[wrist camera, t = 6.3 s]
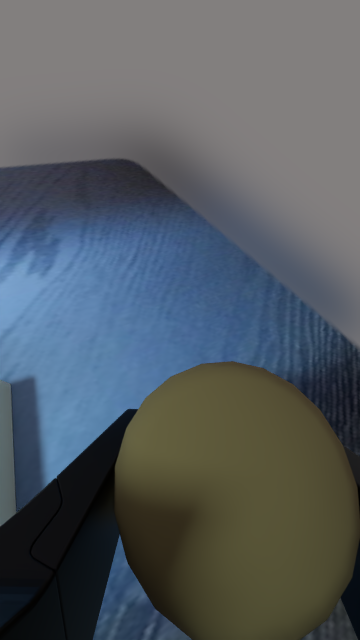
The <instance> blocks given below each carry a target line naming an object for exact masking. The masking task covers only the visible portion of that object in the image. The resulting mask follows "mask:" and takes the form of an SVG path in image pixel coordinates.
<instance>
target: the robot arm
mask: <svg viewBox="0 0 360 640" xmlns="http://www.w3.org/2000/svg"><path fill="white" fill-rule="evenodd" d="M137 411H138V409H127V410H126V411H125V412H124V413H123V414H122V415H121V416H120V417H119V418H118V419H117V420H116V421H115V422H114V423H112V424H111V425H110V426H109V427H108V428H107V429H106V430H105V431H104V432H103V433H102V434H101V435H100V436H99V437H98V438H97V439H96V440H95V441H94V442H93V443H91V444H90V445H89V446H88V447H87V448H86V449H85V450H84V451H83V452H82V453H81V454H80V455H79V456H78V457H77V458H76V459H75V460H74V461H73V462H71V463H70V464H69V465H68V466H67V467H66V468H65V469H64V470H63V471H62V472H61V473H60V474H59V475H58V476H57V479H56V478H55V479H53V480H52V481H51V482H50V483H49V484H48V485H47V486H46V487H45V488H44V489H43V490H42V491H41V492H40V493H38V494H37V495H36V496H35V497H34V498H33V499H32V500H31V501H30V502H29V503H27V504H26V505H25V506H24V507H23V508H22V509H20V510H19V511H18V512H17V513H16V514H14V515H13V516H12V517H11V518H10V519H8V520H7V521H6V522H5V523H4V524H2V525H1V526H0V640H93V636H94V632H95V628H96V624H97V620H98V616H99V613H100V609H101V605H102V601H103V597H104V593H105V589H106V585H107V581H108V577H109V573H110V570H111V566H112V562H113V558H114V554H115V550H116V546H117V542H118V538H119V534H120V532H119V528H118V525H117V521H116V517H115V513H114V485H115V464H116V461H117V458H118V454H119V451H120V448H121V444H122V441H123V437H124V434H125V431H126V428H127V426H128V425H129V423H130V422H131V420H132V418H133V417H134V415H135V414H136V412H137ZM343 447H344V446H343ZM344 450H345V453H346V456H347V459H348V461H349V464H350V467H351V470H352V473H353V476H354V479H355V482H356V485H357V488H358V500H359V512H360V456H358V455H357V454H355V453H353V452H352V451H350V450H349V449H347V448H346V447H344ZM341 600H342V602H343V605H344V607H345V609H346V612H347V614H348V616H349V619H350V621H351V624H352V626H353V628H354V631H355V633H356V636H357V638H358V640H360V540H359V545H358V550H357V556H356V561H355V566H354V571H353V576H352V579H351V580H350V582H349V584H348V585H347V587H346V589H345V590H344V592H343V594H342V596H341Z"/></svg>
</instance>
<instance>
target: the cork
mask: <svg viewBox="0 0 360 640" xmlns="http://www.w3.org/2000/svg"><path fill="white" fill-rule="evenodd" d="M114 513H115V517H116V521H117V525H118V528H119V532H120V536H121V540H122V544H123V548H124V552H125V556H126V559H127V562H128V564H129V566H130V568H131V569H132V571H133V573H134V574H135V576H136V578H137V579H138V581H139V583H140V584H141V586H142V588H143V589H144V591H145V593H146V594H147V596H148V598H149V599H150V601H151V603H152V604H153V606H154V607H155V609H156V610H157V611H159V612H160V613H161V614H162V615H163V616H165V617H166V618H167V619H168V620H169V621H171V622H172V623H173V624H174V625H175V626H177V627H178V628H179V629H180V630H181V631H183V632H184V633H185V634H186V635H187V636H189V637H190V638H191V639H192V640H300V639H302V638H303V637H304V636H306V635H307V634H309V633H310V632H311V631H313V630H314V629H315V628H317V627H318V626H319V625H321V624H322V623H324V622H325V621H326V620H327V619H328V617H329V616H330V614H331V613H332V611H333V609H334V607H335V606H336V604H337V602H338V601H339V599H340V597H341V596H342V594H343V592H344V590H345V589H346V587H347V585H348V584H349V582H350V580H351V579H352V576H353V571H354V566H355V561H356V556H357V550H358V545H359V540H360V512H359V500H358V488H357V485H356V482H355V479H354V476H353V473H352V470H351V467H350V464H349V461H348V459H347V456H346V453H345V450H344V447H343V445H342V443H341V442H340V440H339V439H338V437H337V436H336V434H335V432H334V431H333V429H332V428H331V426H330V425H329V423H328V422H327V420H326V419H325V417H324V415H323V414H322V412H321V411H320V409H319V408H317V407H316V406H315V405H314V404H313V403H312V402H311V401H310V400H309V399H308V398H307V397H306V396H305V395H304V394H303V393H302V392H301V391H299V390H298V389H297V388H296V387H295V386H294V385H293V384H291V383H289V382H288V381H286V380H284V379H282V378H280V377H278V376H277V375H275V374H273V373H271V372H269V371H267V370H266V369H264V368H260V367H255V366H251V365H246V364H242V363H237V362H233V361H231V362H219V363H207V364H200V365H198V366H196V367H193V368H191V369H188V370H186V371H184V372H181V373H179V374H176V375H174V376H172V377H170V378H169V379H167V380H166V381H165V382H164V383H163V384H162V385H160V386H159V387H158V388H157V389H156V390H155V391H153V392H152V393H151V394H150V395H149V396H147V397H146V398H145V400H144V401H143V403H142V404H141V406H140V408H139V409H138V411H137V412H136V414H135V415H134V417H133V418H132V420H131V422H130V423H129V425H128V426H127V428H126V431H125V434H124V437H123V441H122V444H121V448H120V451H119V454H118V458H117V461H116V464H115V485H114Z"/></svg>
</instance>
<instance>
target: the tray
mask: <svg viewBox="0 0 360 640" xmlns="http://www.w3.org/2000/svg"><path fill="white" fill-rule="evenodd" d="M14 514H16V497H15V474H14V450H13V426H12V402H11V384H9V383H7V382H4V381H2V380H0V526H1V525H2V524H4V523H5V522H6V521H7V520H8V519H10V518H11V517H12V516H13V515H14Z"/></svg>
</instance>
